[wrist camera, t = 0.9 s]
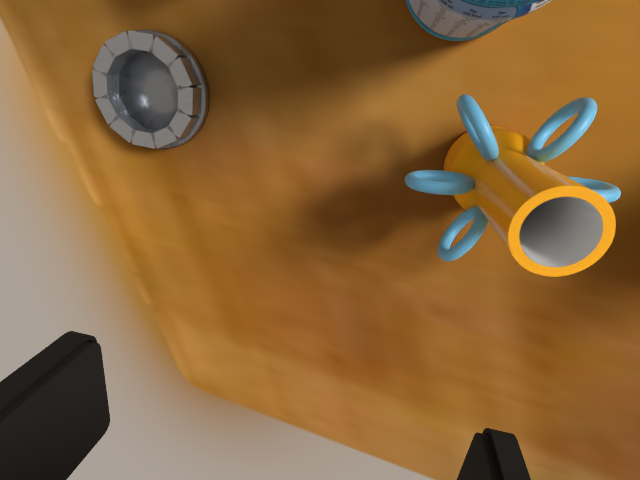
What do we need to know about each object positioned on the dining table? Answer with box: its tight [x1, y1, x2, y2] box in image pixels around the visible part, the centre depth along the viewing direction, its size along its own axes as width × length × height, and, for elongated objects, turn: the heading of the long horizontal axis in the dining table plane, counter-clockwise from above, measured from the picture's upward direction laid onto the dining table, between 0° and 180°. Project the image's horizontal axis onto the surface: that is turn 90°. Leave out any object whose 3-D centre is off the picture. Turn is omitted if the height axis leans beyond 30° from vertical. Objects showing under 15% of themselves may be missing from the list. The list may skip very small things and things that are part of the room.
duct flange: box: [92, 30, 209, 149], centre depth 31 cm, size 9×9×2 cm
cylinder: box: [405, 95, 621, 277], centre depth 23 cm, size 12×10×15 cm
